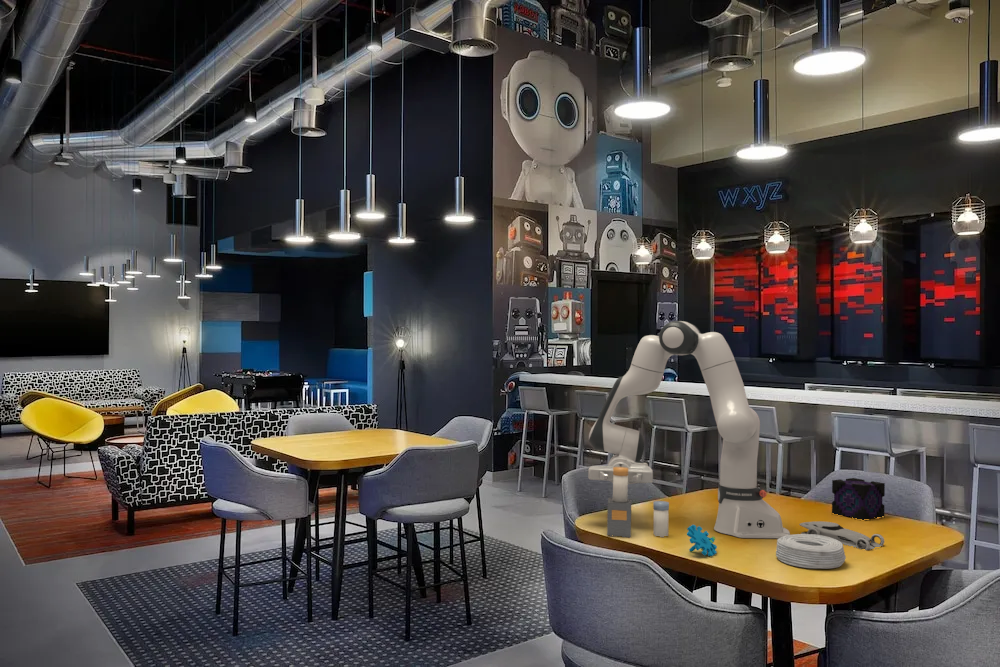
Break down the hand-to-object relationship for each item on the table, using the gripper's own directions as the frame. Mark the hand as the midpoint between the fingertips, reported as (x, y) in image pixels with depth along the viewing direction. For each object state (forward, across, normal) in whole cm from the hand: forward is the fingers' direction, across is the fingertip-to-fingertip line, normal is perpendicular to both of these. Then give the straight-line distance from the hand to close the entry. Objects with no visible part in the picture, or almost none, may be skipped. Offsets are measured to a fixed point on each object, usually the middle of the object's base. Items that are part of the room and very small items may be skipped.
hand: (620, 478), depth 239 cm
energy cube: (-46, +82, +17) cm, 96 cm away
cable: (+21, +51, +17) cm, 58 cm away
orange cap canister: (+2, 0, +7) cm, 7 cm away
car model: (-7, +66, +17) cm, 68 cm away
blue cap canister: (+1, +12, +16) cm, 21 cm away
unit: (+2, 0, +17) cm, 17 cm away
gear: (+20, +23, +17) cm, 35 cm away
